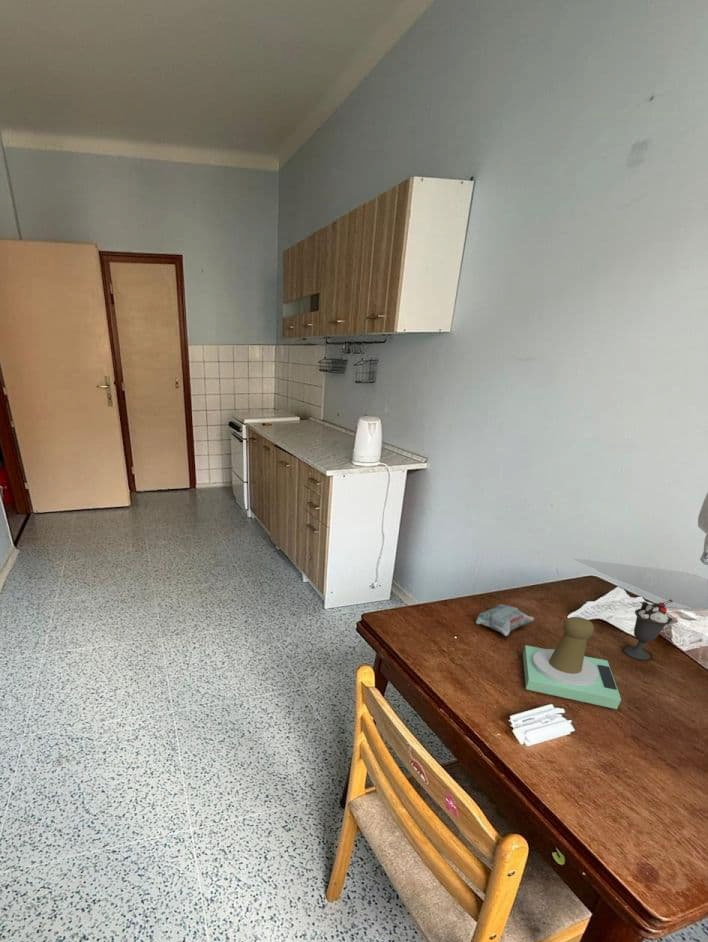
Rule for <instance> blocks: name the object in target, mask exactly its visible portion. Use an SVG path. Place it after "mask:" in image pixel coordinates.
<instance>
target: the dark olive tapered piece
mask: <svg viewBox="0 0 708 942" xmlns="http://www.w3.org/2000/svg"><path fill="white" fill-rule="evenodd" d="M562 631H563V634H562V635H561V637H560V639H559V640H558V642H557V644H556V646H555V648H554V649H555V650H554V652H553V654H552V656H551V658H550V659H549V663H550V665H551V666H552V667H554V668H555V669H557V670H559V671H561V672H565V673H570V674H576V673H580V672H581V671H582V666H583V660H584V656H585V654H586V649H587V644H588V643H587V642H588V639H589V638H590V637H592V636H593V634H594V632H595V625H594V623H593V622H591V620H589V619H587V618H584V617H580V616H570V617H568V618H567V619H565V620H564V622H563V626H562Z"/></svg>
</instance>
